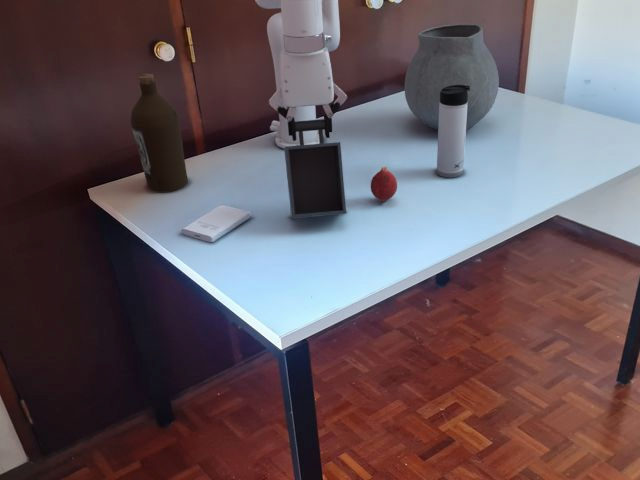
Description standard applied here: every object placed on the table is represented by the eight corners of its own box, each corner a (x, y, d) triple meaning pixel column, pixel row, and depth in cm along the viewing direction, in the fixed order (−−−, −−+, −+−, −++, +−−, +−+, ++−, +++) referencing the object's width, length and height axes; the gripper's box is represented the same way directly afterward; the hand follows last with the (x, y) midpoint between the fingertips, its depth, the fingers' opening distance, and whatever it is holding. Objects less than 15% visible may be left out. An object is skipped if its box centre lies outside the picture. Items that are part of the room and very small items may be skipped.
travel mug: (463, 178, 164) (469, 91, 152) (435, 177, 166) (438, 90, 154) (465, 168, 169) (471, 82, 157) (437, 166, 170) (441, 81, 158)
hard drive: (250, 218, 152) (212, 243, 143) (221, 211, 155) (182, 234, 147) (249, 211, 151) (211, 236, 142) (220, 204, 154) (181, 227, 146)
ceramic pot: (433, 106, 206) (436, 13, 191) (510, 120, 194) (520, 22, 179) (387, 132, 190) (386, 33, 175) (467, 149, 179) (474, 45, 164)
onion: (397, 207, 154) (397, 172, 149) (371, 207, 154) (370, 172, 149) (396, 195, 158) (396, 161, 154) (370, 196, 159) (370, 162, 154)
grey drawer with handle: (281, 125, 147) (282, 121, 139) (334, 120, 148) (338, 116, 139) (291, 216, 152) (292, 218, 143) (342, 211, 153) (346, 213, 144)
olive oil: (184, 172, 173) (164, 66, 158) (195, 187, 166) (176, 78, 151) (141, 180, 170) (116, 73, 155) (150, 197, 162) (125, 86, 147)
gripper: (346, 35, 137) (350, 128, 148) (257, 42, 136) (267, 134, 146) (352, 44, 131) (355, 140, 142) (258, 51, 130) (269, 147, 140)
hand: (310, 136), depth 144 cm, fingers closed on grey drawer with handle, 6 cm apart
